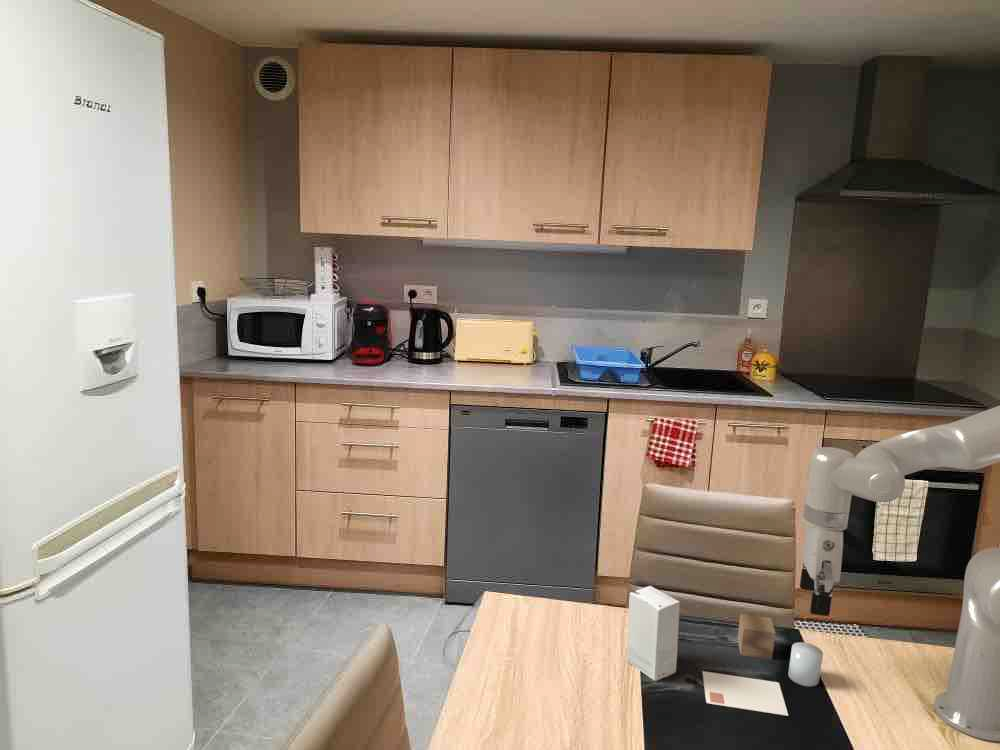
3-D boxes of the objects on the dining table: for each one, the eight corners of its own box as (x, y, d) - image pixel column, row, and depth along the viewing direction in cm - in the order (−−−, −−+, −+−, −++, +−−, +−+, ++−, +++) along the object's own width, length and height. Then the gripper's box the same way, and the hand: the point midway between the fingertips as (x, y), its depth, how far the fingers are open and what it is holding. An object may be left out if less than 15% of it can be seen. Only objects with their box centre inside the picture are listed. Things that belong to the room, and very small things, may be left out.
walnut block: (767, 644, 155) (770, 618, 154) (771, 660, 149) (775, 633, 148) (737, 640, 156) (740, 613, 155) (740, 656, 151) (743, 628, 149)
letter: (778, 683, 142) (778, 682, 142) (788, 716, 132) (788, 715, 132) (702, 672, 144) (702, 671, 144) (706, 703, 135) (706, 702, 135)
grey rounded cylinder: (815, 672, 146) (819, 644, 145) (821, 689, 141) (825, 660, 139) (785, 668, 147) (789, 640, 146) (790, 684, 142) (794, 656, 140)
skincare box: (676, 674, 143) (683, 602, 140) (653, 683, 140) (660, 610, 137) (645, 652, 150) (651, 583, 147) (622, 660, 147) (629, 590, 144)
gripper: (860, 536, 128) (846, 627, 132) (836, 501, 145) (824, 583, 148) (813, 531, 130) (801, 621, 133) (795, 496, 146) (784, 578, 150)
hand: (813, 601), depth 141 cm, fingers open, 9 cm apart
